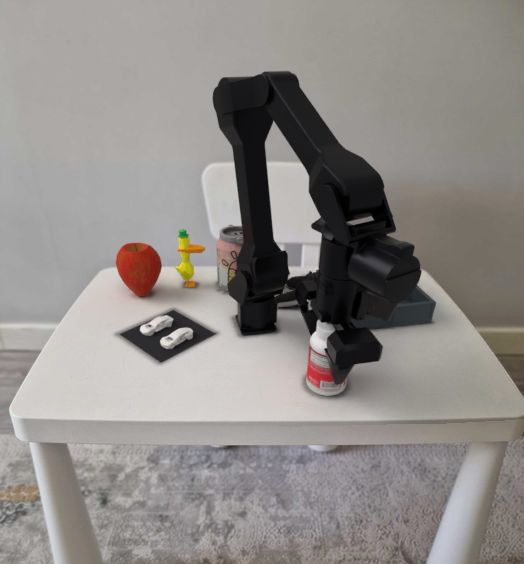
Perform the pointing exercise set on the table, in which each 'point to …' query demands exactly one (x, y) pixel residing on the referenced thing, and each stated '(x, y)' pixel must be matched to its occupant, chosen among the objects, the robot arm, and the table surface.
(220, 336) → the table surface
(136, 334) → the black mat with cars
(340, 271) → the robot arm
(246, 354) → the table surface
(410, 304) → the tray
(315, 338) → the pill bottle
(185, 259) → the toy figure
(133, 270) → the apple
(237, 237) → the beverage can
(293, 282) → the gaming controller
